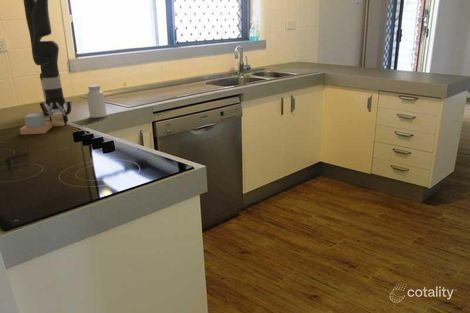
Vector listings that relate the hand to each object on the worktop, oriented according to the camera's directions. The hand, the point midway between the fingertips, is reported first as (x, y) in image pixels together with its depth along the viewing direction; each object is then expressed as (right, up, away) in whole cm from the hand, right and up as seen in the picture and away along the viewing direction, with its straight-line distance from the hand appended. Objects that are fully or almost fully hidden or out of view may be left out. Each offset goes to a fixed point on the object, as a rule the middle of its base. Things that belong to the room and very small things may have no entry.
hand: (59, 123), depth 193 cm
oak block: (0, 0, 0) cm, 0 cm away
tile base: (-6, -4, -9) cm, 11 cm away
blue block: (-6, -2, -10) cm, 12 cm away
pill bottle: (+14, +4, +12) cm, 19 cm away
